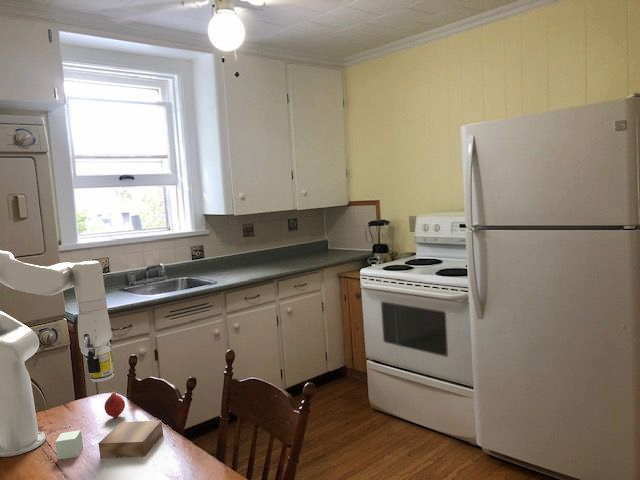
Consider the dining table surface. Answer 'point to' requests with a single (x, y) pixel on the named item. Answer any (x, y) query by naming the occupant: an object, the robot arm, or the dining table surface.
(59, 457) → the sage cube
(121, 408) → the onion
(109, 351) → the pill bottle
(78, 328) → the robot arm
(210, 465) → the dining table surface
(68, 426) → the dining table surface
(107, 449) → the walnut block
